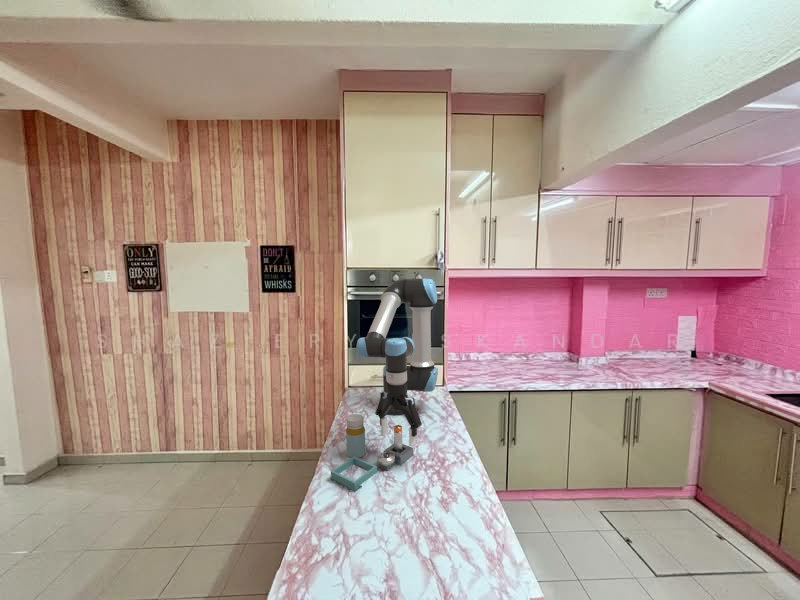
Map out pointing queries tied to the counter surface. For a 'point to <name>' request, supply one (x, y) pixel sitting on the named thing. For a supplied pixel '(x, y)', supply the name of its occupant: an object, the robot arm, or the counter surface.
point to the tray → (348, 482)
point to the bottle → (355, 436)
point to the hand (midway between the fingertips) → (398, 439)
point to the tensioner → (394, 457)
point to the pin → (398, 439)
